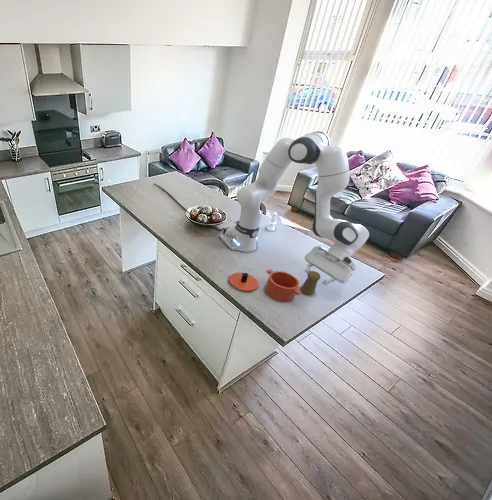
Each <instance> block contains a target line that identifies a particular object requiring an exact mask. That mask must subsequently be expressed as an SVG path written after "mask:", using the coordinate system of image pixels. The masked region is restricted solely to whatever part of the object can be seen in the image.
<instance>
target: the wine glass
mask: <svg viewBox="0 0 492 500" xmlns="http://www.w3.org/2000/svg"><path fill="white" fill-rule="evenodd" d="M277 217H278V213H277V212H276V211H274V212H273V213H272V214H271V219H270V220H268V223H269V225H267V226H266V227H265V228H266V230H268V231H271V232H274V231H275V230H276V228H275V225H277V222H276V220H277Z"/></svg>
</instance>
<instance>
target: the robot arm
mask: <svg viewBox="0 0 492 500" xmlns="http://www.w3.org/2000/svg"><path fill="white" fill-rule="evenodd" d="M330 143H331V140H330V137H329V135H328V134H327V133H325V132H323V131H313V132H309V133H306V134H304V135H302V136H300V137H298V138H296V139H293V138H291V137H281V138H280V139H279V140H278V141H277V142H276V143H274V145H273V146H272V148H271V149H270V150H269V152H268V154H267V155H266V157H265V158H264V160H263V161H262V163H261V164H260V166H259V168H258V176H257V178H256V180H255V181H252V182H251V183H248V184H246V185H244V186H242V187H241V188H240V189H238V190H237V192H236V200H237V202H238V204H239V205H240V215H239V219H238V220H237V221H235V222H234V224H235V225H233V226H227V227H222V228H217V227H216V226H214V225H213V226H211V228H213V229H215V230H217V231H219V232H222V233H221V234H220V236H219V238H220V239H221V240H222V241H223V242H224V243H225V245H227V247H229V249H230V250H232V251H239V252H243V253H250V252H254V251H255V250H257V240H258V234H259V231H260V223H261V220H262V217H263V211H262V210H261V209H260V207H261V203H262V202H264V201H266V200H269V199H270V198H271V197H272V196H274V194H275V193H276V192H277V186H278V183H279V181H280V180H281V178H282V176H283V175H284V174H285V172H286V171H287V169H288V168H289V166H290V164H291V163H292V162H293V163H296V164H303V165H305V164H306V165H315V166H316V170H317V186H316V189H315V192H314V193H315V194H314V218H313V223H312V227H311V228H312V232H313V234H314V235H315V236H316V237H317V238H322V239H328V240H330V241H333V242H334V243H333V244H332V245H331V246H330V247H329V248H328V249H326V248H324V247H322V246H320V245H318V246H314V247H313V248H312V249H311V250H310V251H309V252H307V254H305V255H304V260H305V262H307V265H306V268H305V270H304V272H305V273H306V274H308V273H309V272H310V271H311V268H312V267H315V268H316V269H318V270H319V271H321V272H322V273H324V274H326V275H327V276H329V277H330V279H324V280H323V281H322V284H323V285H325V286H327V285H328V284H330V283H334V282H335V281H337V282H339V283H340V284H346V283H347V282H348V281H349V280H350V279H351V277H352V276H353V274H354V273H353V271H356V270H357V266H356V263H355V262H354V261H353V260H352V259H351V258H352V257H353V255H354V253H356V252H357V251H358V250H360V249H361V248H362V246H363V245H364V244H366V242H367V241H368V240H369V237H370V232H369V230H368V229H367V227H365V226H363V225H362V224H359V223H352V222H350V221H347V220H345V219H338V218H333V217H332V215H331V199H332V198H333V196H334V195H336V194H340V192H343V190H345V189H346V188H347V187H348V185H349V183H350V179H351V177H350V167H349V160H348V156H347V152H346V149H345V148H344V147H343V146H341V145H337V144H335V145H334V144H333V145H331V144H330ZM153 185H154V186H157V187H158V188H160V189H161V190H162V191H164V192H165V193H166V194H167V195H168V196H169V197H171V199H172V200H174V202H175V203H176V204H178V205H179V207H181V208H182V209H183V210H184V211H185V212H187V210H188V209H186V208H185V207H184V206H183V205H182V204H181V203H180V202H179V201H178V200H177V199H176V198H175V197H173V195H171V193H169V192H168V191H167V190H165V189H164V187H162V186H160V185H158V184H156V183H155V182H154V183H153Z"/></svg>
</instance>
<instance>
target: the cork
mask: <svg viewBox="0 0 492 500" xmlns="http://www.w3.org/2000/svg"><path fill="white" fill-rule="evenodd" d="M320 280H321V274H320V272H317V271H314V270H310V272H309V273H307V275H306V279H305V281H304V282H303V284H302V285H301V287H300V289H299V290H300V291H301V292H302V293H301V294H304V296H305V295H306V296H314V295H315V293H316V292H315V291H316V288H317V284H318V281H320Z"/></svg>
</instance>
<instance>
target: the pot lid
mask: <svg viewBox="0 0 492 500" xmlns="http://www.w3.org/2000/svg"><path fill="white" fill-rule="evenodd" d="M228 281H229V284H230V285H231V286H232V287H233V288H234V289H237V290H238V291H243V292H252V291H255V290H256V289H258V286H259V281H258V279H257V278H255V276H253V275H251V274H249V273H247V272H234V273H232V274H230V276H229V278H228Z"/></svg>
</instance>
